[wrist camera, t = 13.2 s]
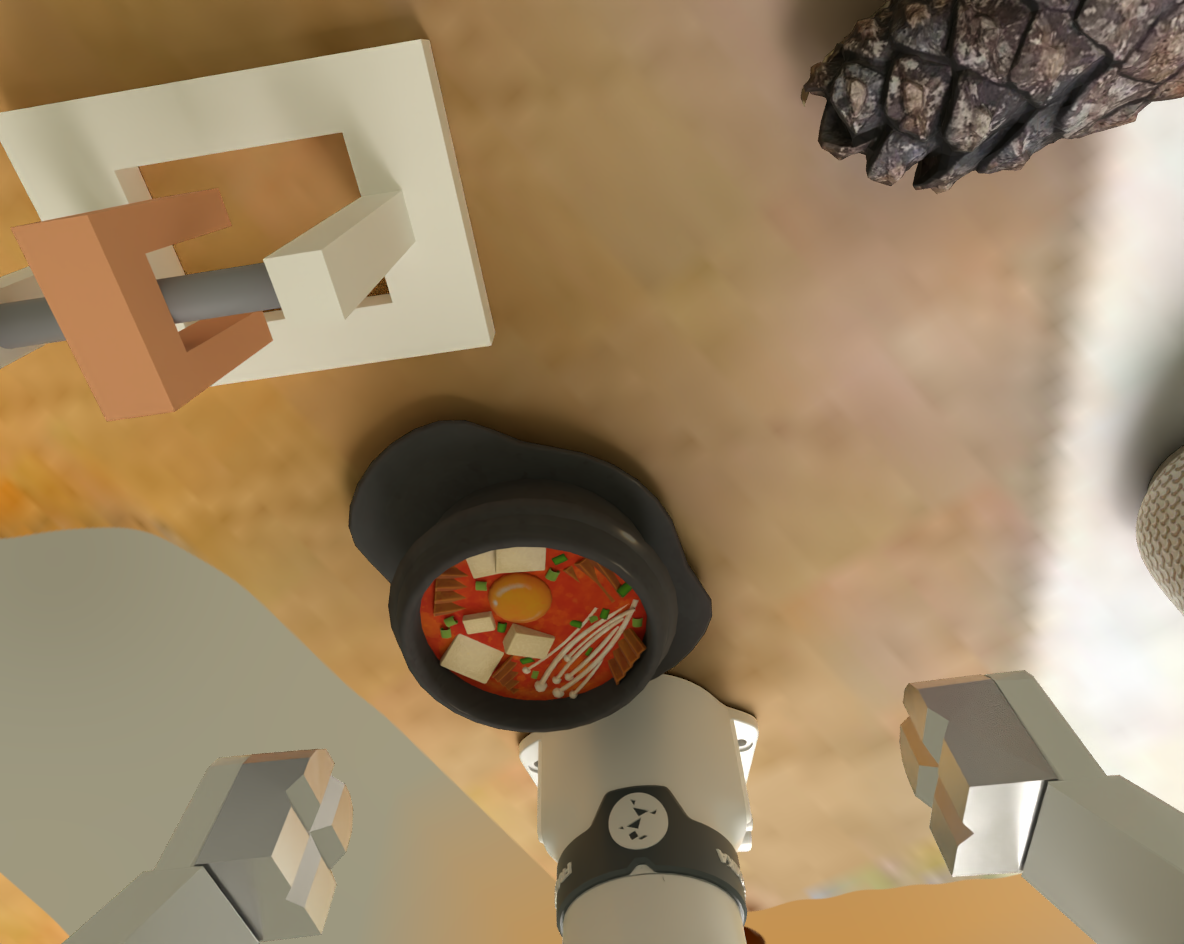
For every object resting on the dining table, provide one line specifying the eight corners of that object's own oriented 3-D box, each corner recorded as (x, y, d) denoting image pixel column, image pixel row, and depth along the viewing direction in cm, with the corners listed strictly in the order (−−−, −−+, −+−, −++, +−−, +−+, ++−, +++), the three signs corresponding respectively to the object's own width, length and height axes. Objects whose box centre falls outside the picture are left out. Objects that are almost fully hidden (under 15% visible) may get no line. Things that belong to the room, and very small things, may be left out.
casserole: (769, 568, 48) (803, 660, 41) (588, 712, 55) (589, 812, 48) (471, 335, 39) (446, 398, 32) (301, 540, 46) (249, 630, 39)
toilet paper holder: (429, 39, 32) (337, 30, 20) (495, 332, 39) (456, 455, 27) (17, 111, 34) (-301, 143, 21) (152, 383, 41) (-30, 521, 28)
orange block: (273, 340, 32) (174, 411, 24) (220, 348, 32) (106, 421, 25) (218, 188, 29) (87, 215, 22) (160, 197, 29) (10, 227, 22)
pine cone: (758, 69, 33) (820, 73, 24) (1154, -240, 28) (1411, -372, 19) (856, 252, 37) (937, 311, 29) (1214, 14, 32) (1446, -1, 24)
